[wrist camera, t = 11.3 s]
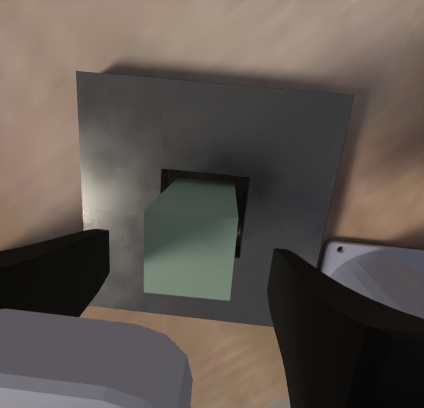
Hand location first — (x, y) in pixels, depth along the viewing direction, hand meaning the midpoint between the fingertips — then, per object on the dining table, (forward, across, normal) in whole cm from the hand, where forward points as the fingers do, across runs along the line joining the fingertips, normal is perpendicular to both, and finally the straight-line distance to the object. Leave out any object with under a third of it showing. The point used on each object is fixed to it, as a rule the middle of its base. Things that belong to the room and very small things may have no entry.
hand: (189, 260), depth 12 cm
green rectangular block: (+8, 0, 0) cm, 8 cm away
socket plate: (+8, 0, 0) cm, 8 cm away
